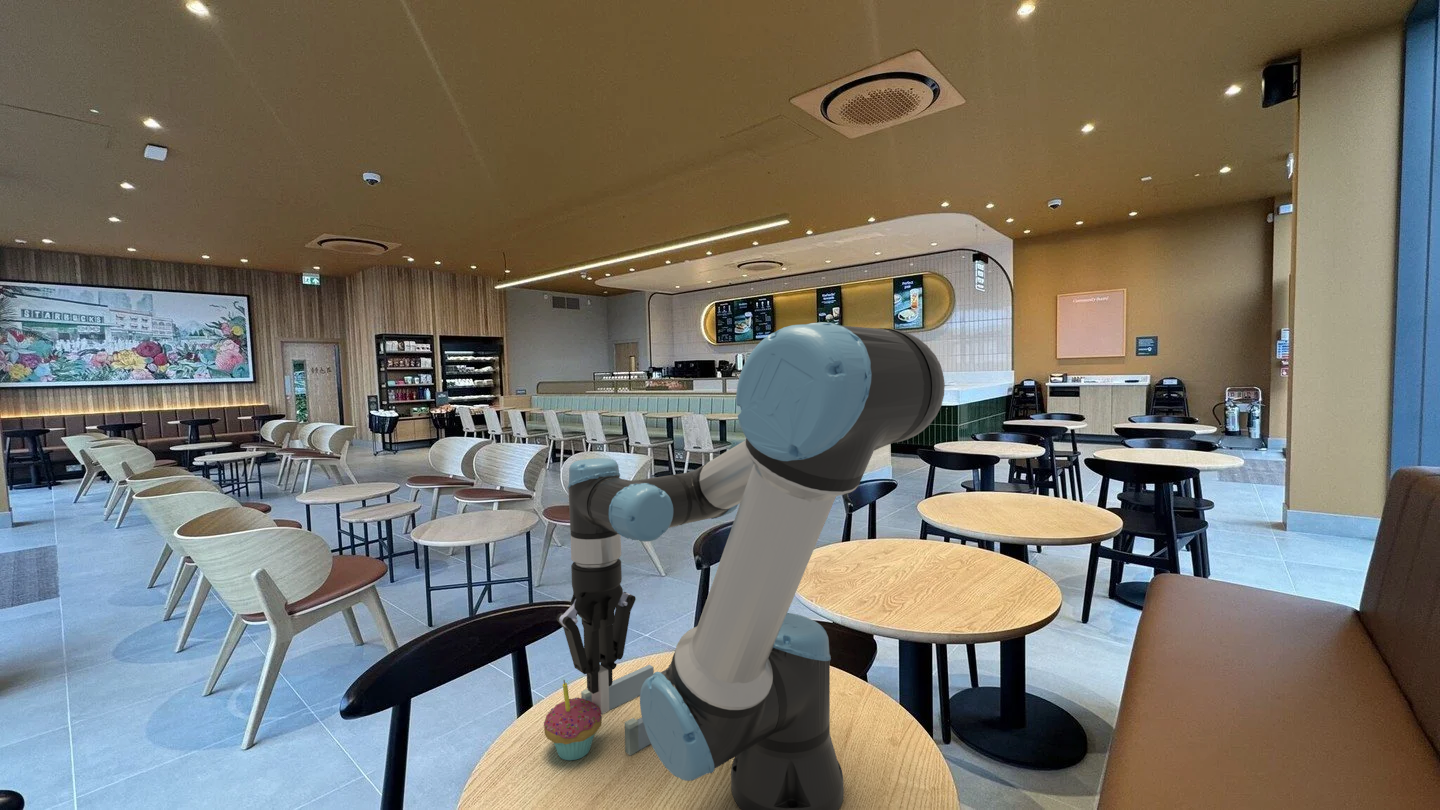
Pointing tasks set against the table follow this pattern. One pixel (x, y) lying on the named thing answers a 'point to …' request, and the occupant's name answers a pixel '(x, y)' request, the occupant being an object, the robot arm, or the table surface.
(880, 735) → the table surface
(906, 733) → the table surface
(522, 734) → the table surface
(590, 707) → the cupcake
